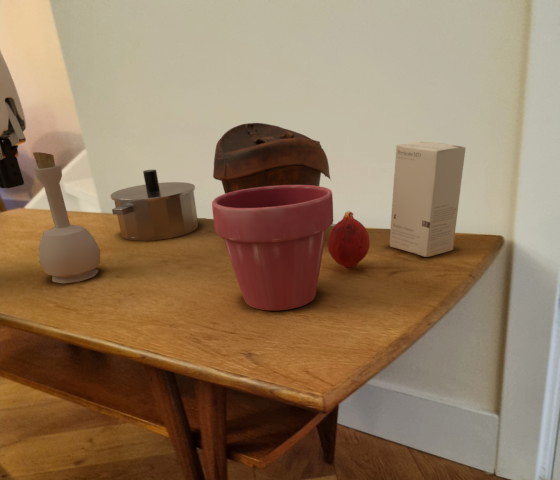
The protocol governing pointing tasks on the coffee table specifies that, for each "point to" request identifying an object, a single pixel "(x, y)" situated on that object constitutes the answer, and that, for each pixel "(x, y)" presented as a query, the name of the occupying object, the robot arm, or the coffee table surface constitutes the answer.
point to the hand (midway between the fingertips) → (12, 186)
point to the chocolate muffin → (267, 158)
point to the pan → (157, 218)
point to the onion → (348, 241)
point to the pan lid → (152, 190)
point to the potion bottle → (63, 232)
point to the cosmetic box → (426, 197)
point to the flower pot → (275, 241)
